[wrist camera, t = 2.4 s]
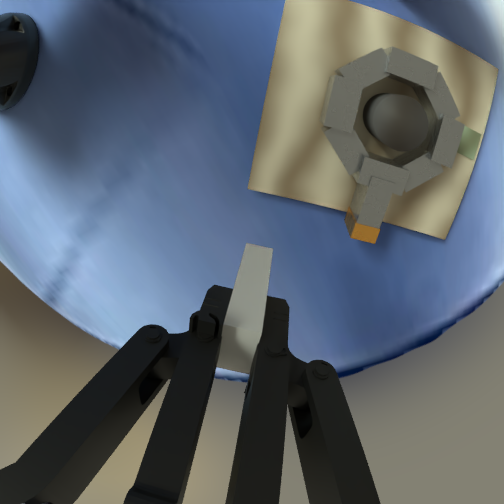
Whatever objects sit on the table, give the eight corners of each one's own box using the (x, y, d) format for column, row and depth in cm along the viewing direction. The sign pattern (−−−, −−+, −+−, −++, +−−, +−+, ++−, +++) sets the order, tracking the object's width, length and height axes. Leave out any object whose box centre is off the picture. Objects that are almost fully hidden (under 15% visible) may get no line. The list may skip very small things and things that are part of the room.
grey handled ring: (338, 37, 23) (345, 30, 20) (456, 83, 23) (475, 84, 20) (297, 208, 33) (298, 225, 29) (406, 236, 32) (418, 255, 29)
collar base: (249, 184, 34) (240, 206, 28) (288, -10, 23) (288, -31, 17) (440, 234, 34) (461, 261, 28) (491, 69, 22) (524, 71, 17)
